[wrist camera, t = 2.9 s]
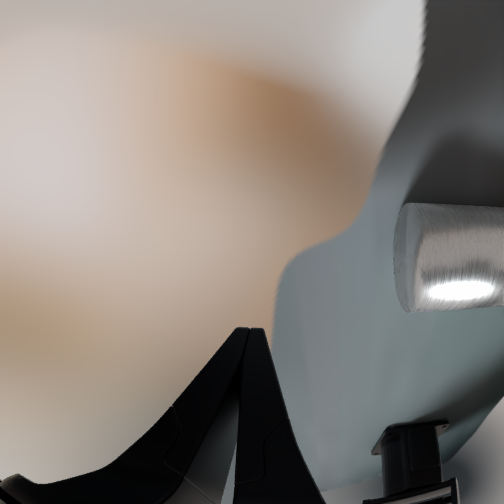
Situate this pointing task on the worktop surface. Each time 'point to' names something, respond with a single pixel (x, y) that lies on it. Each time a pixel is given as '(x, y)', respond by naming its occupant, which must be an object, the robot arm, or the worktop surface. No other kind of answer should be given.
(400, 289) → the tube
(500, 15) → the worktop surface
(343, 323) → the worktop surface
